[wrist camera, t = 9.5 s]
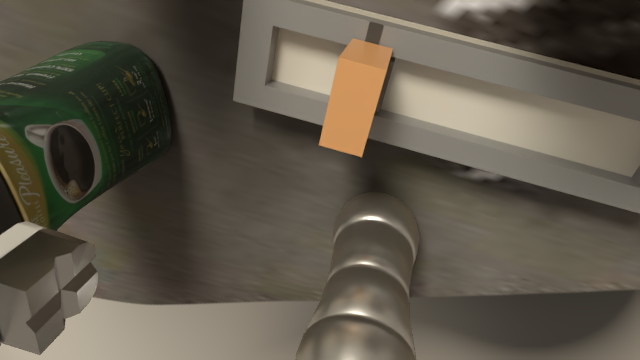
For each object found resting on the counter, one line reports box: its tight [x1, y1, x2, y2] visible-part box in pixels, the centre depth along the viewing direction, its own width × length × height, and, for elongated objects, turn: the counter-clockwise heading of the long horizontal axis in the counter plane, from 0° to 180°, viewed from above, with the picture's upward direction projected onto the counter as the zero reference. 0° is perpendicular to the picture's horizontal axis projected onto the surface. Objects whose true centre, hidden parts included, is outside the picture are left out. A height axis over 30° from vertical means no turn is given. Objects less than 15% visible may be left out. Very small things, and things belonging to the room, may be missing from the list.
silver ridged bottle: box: [296, 192, 420, 360], centre depth 26 cm, size 6×7×20 cm
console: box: [233, 0, 640, 213], centre depth 27 cm, size 28×7×4 cm, turn 78°
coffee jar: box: [0, 41, 172, 235], centre depth 26 cm, size 10×8×19 cm
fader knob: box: [319, 38, 395, 157], centre depth 24 cm, size 3×5×7 cm, turn 168°
